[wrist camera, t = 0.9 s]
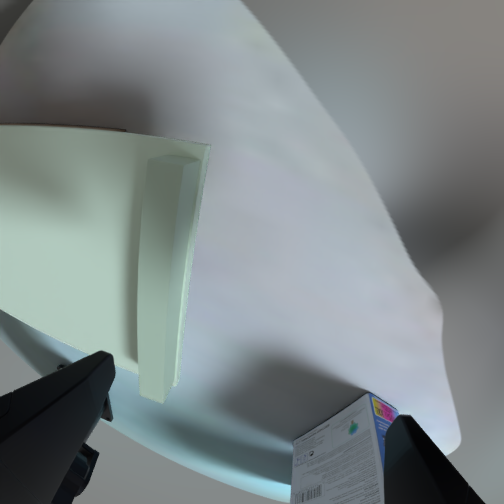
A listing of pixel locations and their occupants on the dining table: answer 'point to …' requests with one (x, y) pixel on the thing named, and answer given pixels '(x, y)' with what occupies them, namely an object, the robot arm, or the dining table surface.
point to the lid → (102, 242)
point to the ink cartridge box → (343, 456)
